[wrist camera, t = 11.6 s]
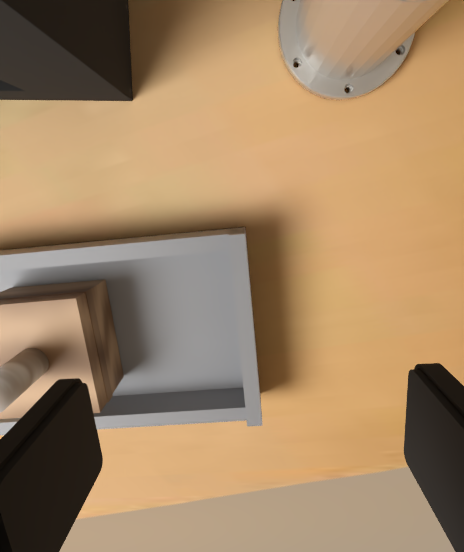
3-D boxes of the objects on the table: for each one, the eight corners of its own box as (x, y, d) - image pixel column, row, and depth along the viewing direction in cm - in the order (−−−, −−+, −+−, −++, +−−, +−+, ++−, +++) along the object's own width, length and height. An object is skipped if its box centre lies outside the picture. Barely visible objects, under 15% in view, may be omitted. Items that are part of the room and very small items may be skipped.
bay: (-17, 251, 40) (-62, 262, 34) (245, 226, 38) (245, 233, 33) (25, 408, 45) (-8, 441, 39) (260, 393, 43) (262, 425, 37)
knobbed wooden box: (9, 286, 40) (-100, 332, 27) (106, 278, 39) (39, 321, 27) (34, 383, 43) (-54, 464, 30) (124, 377, 42) (72, 458, 29)
